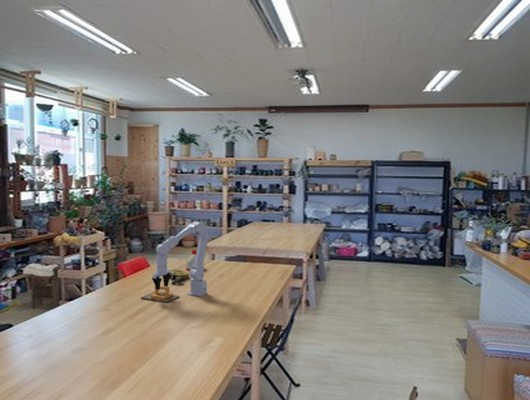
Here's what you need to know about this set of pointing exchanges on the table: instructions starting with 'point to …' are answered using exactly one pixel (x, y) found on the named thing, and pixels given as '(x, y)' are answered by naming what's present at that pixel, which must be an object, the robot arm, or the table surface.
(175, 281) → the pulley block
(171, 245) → the robot arm
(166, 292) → the link
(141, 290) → the table surface
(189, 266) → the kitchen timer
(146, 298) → the walnut board
